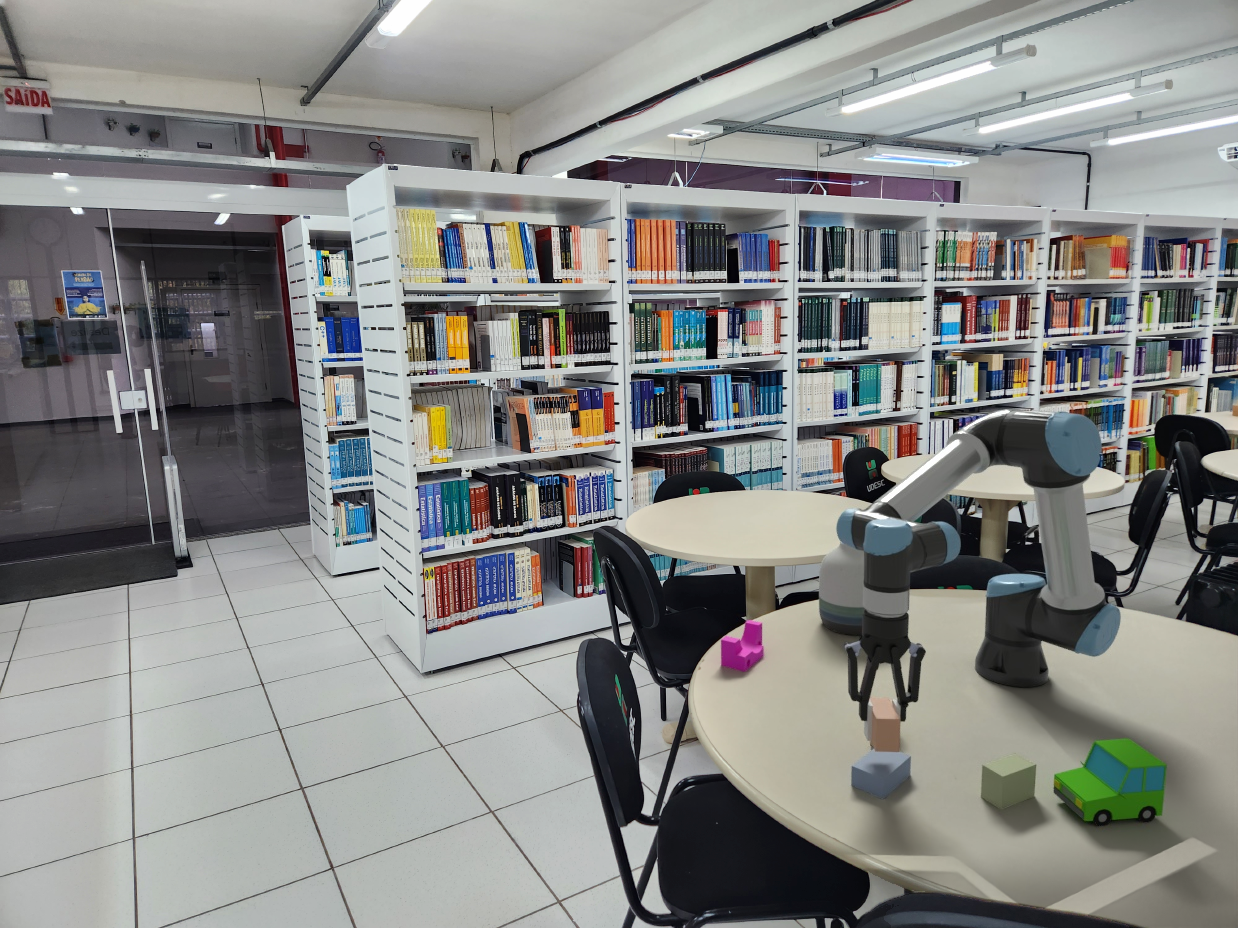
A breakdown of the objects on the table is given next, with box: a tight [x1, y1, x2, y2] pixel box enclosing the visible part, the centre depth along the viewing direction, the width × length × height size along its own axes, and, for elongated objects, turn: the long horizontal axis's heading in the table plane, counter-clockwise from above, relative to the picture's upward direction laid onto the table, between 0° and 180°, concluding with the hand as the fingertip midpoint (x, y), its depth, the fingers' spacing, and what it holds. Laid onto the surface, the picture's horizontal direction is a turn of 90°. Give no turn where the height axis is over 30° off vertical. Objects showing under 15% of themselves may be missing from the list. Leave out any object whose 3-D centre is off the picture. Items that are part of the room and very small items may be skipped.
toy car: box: [1053, 738, 1168, 827], centre depth 125 cm, size 10×13×10 cm
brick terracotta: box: [870, 696, 902, 752], centre depth 134 cm, size 8×4×6 cm, turn 174°
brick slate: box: [850, 748, 912, 800], centre depth 136 cm, size 10×6×4 cm, turn 134°
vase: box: [818, 541, 865, 636], centre depth 204 cm, size 17×17×24 cm
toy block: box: [720, 619, 765, 673], centre depth 187 cm, size 15×6×8 cm, turn 145°
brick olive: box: [980, 752, 1037, 810], centre depth 129 cm, size 8×4×6 cm, turn 114°
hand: (881, 736), depth 134 cm, fingers closed on brick terracotta, 4 cm apart
